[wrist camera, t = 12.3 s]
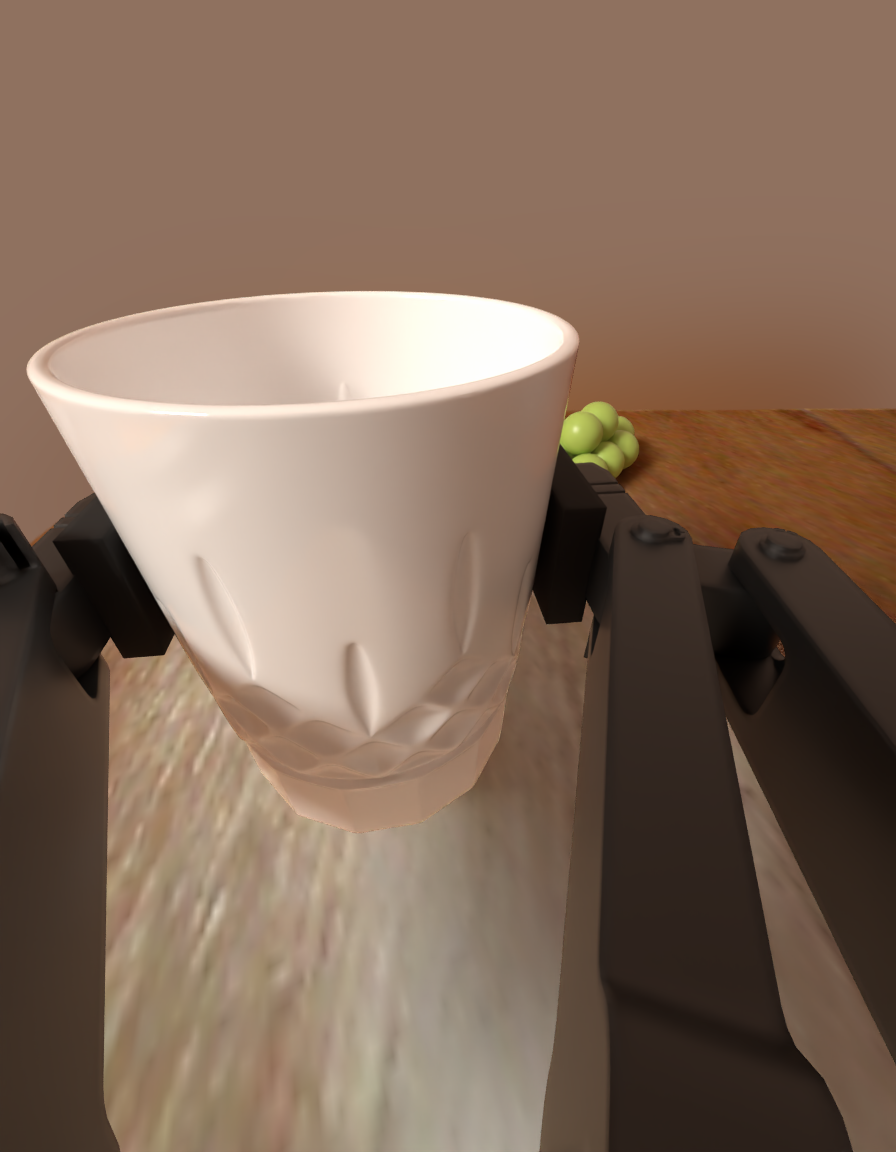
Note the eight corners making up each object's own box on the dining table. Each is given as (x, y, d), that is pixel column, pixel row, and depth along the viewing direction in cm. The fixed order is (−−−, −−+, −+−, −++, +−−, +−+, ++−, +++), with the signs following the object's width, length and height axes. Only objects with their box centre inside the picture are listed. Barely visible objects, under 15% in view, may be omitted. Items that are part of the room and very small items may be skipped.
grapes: (586, 438, 35) (597, 377, 32) (652, 455, 32) (670, 391, 30) (499, 496, 28) (504, 425, 25) (575, 523, 25) (588, 448, 23)
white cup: (230, 658, 16) (84, 304, 9) (456, 597, 18) (457, 282, 12) (247, 927, 10) (-105, 467, 4) (578, 786, 12) (708, 357, 6)
